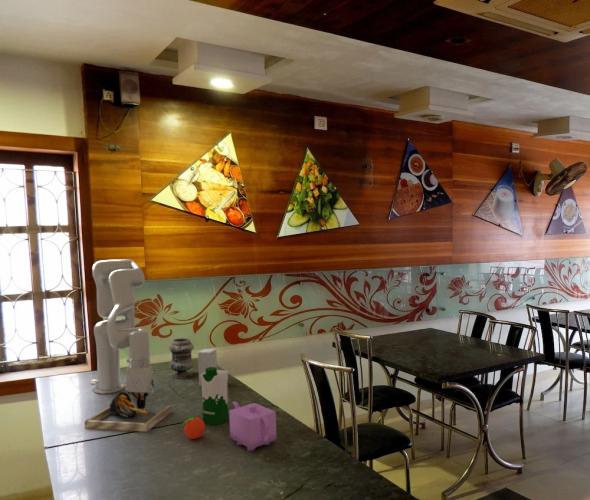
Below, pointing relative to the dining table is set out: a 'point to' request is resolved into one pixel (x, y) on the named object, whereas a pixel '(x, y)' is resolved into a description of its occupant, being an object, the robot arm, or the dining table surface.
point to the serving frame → (128, 426)
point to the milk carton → (214, 396)
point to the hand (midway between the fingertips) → (141, 408)
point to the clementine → (194, 427)
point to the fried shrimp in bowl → (124, 406)
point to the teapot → (252, 425)
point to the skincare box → (206, 361)
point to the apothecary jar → (181, 357)
